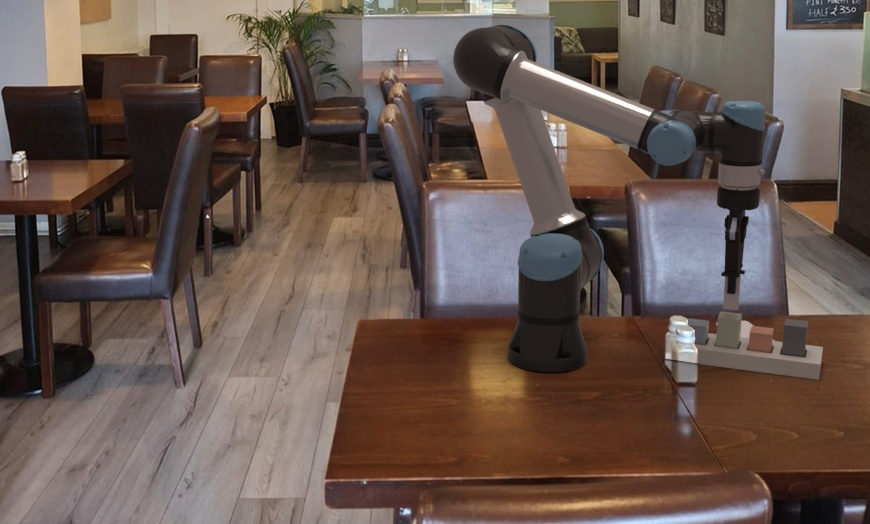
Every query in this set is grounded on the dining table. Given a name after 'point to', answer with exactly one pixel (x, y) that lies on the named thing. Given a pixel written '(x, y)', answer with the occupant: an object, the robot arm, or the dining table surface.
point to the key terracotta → (761, 339)
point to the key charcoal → (794, 337)
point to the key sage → (728, 330)
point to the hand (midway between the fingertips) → (730, 308)
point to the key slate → (700, 330)
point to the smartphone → (745, 329)
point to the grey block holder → (761, 359)
